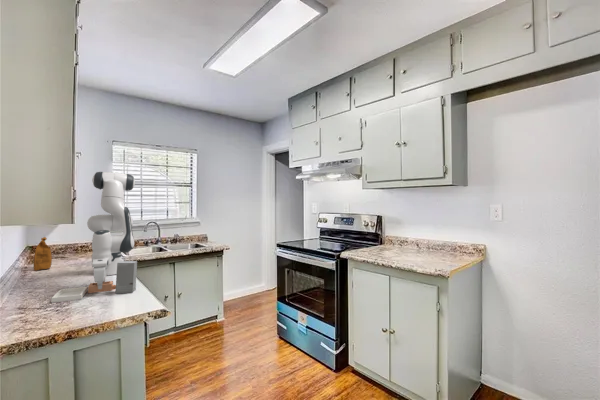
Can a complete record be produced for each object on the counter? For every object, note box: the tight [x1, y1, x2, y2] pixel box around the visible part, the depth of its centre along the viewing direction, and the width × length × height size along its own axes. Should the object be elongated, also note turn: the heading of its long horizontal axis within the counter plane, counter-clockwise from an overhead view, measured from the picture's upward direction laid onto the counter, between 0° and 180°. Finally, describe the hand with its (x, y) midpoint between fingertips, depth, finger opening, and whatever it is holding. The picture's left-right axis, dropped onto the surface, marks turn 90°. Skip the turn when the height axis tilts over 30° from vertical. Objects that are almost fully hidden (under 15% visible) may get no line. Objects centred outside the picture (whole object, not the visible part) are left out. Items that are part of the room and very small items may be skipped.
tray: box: [50, 286, 88, 304], centre depth 148 cm, size 16×11×2 cm
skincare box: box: [115, 260, 138, 295], centre depth 157 cm, size 8×7×16 cm
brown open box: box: [87, 280, 116, 294], centre depth 160 cm, size 12×7×4 cm, turn 117°
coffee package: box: [33, 236, 53, 271], centre depth 210 cm, size 10×12×22 cm
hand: (101, 286), depth 159 cm, fingers open, 8 cm apart
